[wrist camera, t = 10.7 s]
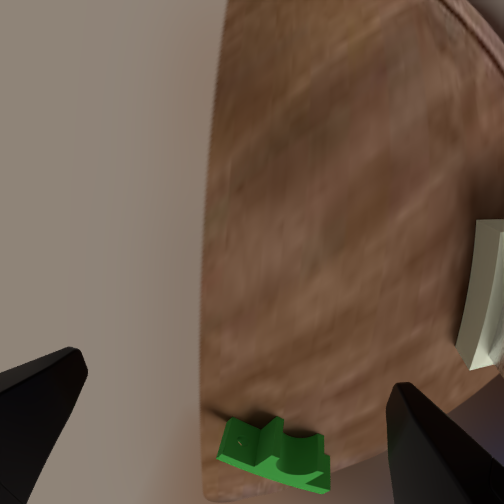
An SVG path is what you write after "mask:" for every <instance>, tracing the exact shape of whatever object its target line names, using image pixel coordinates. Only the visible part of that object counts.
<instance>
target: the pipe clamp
mask: <svg viewBox="0 0 504 504" xmlns="http://www.w3.org/2000/svg"><path fill="white" fill-rule="evenodd" d="M283 425H284V419H282V418H280V417H275V418H274V419H273V420H272V421H271V422H270V423H268V424H267V425H266V426H265V427H264V428H262V429H261V430H260V429H258V428H256V427H254V426H251V425H249V424H247V423H245V422H243V421H241V420H238V419H236V418H234V417H232V418H231V419H230V420H229V421H227V423H226V427H225V430H224V434H223V437H222V440H221V444H220V447H219V451H218V454H217V457H216V459H218V460H221V461H223V462H225V463H228V464H230V465H233V466H235V467H238V468H240V469H243V470H245V471H248V472H251V473H253V474H256V475H259V476H262V477H265V478H268V479H271V480H274V481H277V482H280V483H283V484H286V485H290V486H293V487H297V488H300V489H304V490H307V491H311V492H315V493H319V494H324V493H326V492H328V491H330V456H328V455H325V454H324V436H323V435H321V434H318V433H317V434H316V435H314V436H311V437H307V438H294V437H290V436H288V435H286V434H285V433H283ZM238 441H239V442H240V443H241V444H242V445H240V444H239V443H238Z"/></svg>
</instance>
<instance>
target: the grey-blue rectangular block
mask: <svg viewBox="0 0 504 504" xmlns="http://www.w3.org/2000/svg"><path fill="white" fill-rule="evenodd" d="M488 356H489V357H490V359H491V360H492V362H493V363H494V365H495V366H496V367H497V369H498V370H499V372H500V373H501V375H502V376H503V378H504V303H503V307H502V311H501V315H500V319H499V323H498V326H497V330H496V333H495V336H494V339H493V343H492V346H491V349H490V352H489V355H488Z"/></svg>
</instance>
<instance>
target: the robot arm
mask: <svg viewBox="0 0 504 504" xmlns="http://www.w3.org/2000/svg"><path fill="white" fill-rule="evenodd" d="M87 376H88V369H87V366H86V363H85V361H84V358H83V355H82V353H81V351H80V350H79V349H77V348H73V347H66V348H63V349H61V350H58V351H56V352H53V353H51V354H48V355H45V356H43V357H40V358H38V359H35V360H33V361H30V362H28V363H25V364H22V365H20V366H17V367H14V368H12V369H9V370H7V371H4V372H1V373H0V504H27V501H28V499H29V497H30V495H31V492H32V490H33V488H34V486H35V483H36V481H37V479H38V477H39V475H40V473H41V471H42V469H43V467H44V465H45V463H46V460H47V459H48V457H49V455H50V453H51V451H52V449H53V447H54V445H55V443H56V441H57V439H58V437H59V435H60V434H61V432H62V430H63V428H64V426H65V424H66V422H67V421H68V419H69V417H70V414H71V413H72V410H73V408H74V406H75V404H76V401H77V399H78V397H79V394H80V392H81V390H82V387H83V385H84V383H85V381H86V379H87ZM386 421H387V439H388V460H389V468H390V474H391V482H392V488H393V497H394V504H504V466H503V465H502V464H500V463H499V462H498V461H497V460H496V459H495V458H492V456H491V455H490V454H489V453H488V452H487V451H486V450H485V449H484V448H483V447H482V446H481V445H479V444H478V443H477V442H476V441H475V440H474V439H473V438H472V437H471V436H469V435H468V434H467V433H466V432H465V431H464V430H463V429H462V428H461V427H460V426H458V425H457V424H456V423H455V422H454V421H453V420H452V419H451V418H450V417H449V416H447V415H446V414H445V413H444V412H443V411H442V410H441V409H440V408H439V407H437V406H436V405H435V404H434V403H433V402H432V401H431V400H430V399H428V398H427V397H426V396H425V395H424V394H423V393H422V392H421V391H420V390H418V389H417V388H416V387H415V386H414V385H413V384H412V383H410V382H400V383H396V384H395V385H394V386H393V389H392V392H391V394H390V397H389V400H388V402H387V406H386Z"/></svg>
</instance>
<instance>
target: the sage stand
mask: <svg viewBox="0 0 504 504" xmlns="http://www.w3.org/2000/svg"><path fill="white" fill-rule="evenodd" d="M503 303H504V219H486V220H476V232H475V243H474V252H473V261H472V268H471V275H470V281H469V287H468V293H467V298H466V303H465V308H464V313H463V317H462V322H461V326H460V330H459V334H458V338H457V342H456V346H455V348H456V349H457V351H458V352H459V354H460V356H461V357H462V359H463V360H464V362H465V364H466V365H467V367H468V369H469V370H473V369H477V368H481V367H485V366H489V365H492V364H494V363H493V362H492V360H491V359H490V357H489V356H488V355H489V352H490V349H491V346H492V343H493V339H494V336H495V333H496V330H497V326H498V323H499V319H500V315H501V311H502V307H503Z"/></svg>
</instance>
